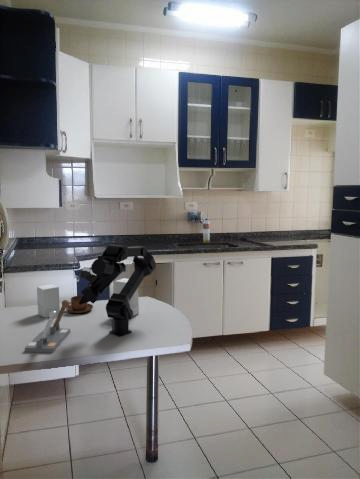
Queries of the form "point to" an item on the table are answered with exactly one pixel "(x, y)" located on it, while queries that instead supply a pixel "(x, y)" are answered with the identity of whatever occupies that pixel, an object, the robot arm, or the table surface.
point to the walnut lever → (61, 312)
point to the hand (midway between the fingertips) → (79, 303)
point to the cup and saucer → (78, 305)
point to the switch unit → (48, 340)
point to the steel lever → (48, 324)
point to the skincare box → (134, 300)
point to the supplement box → (48, 299)
